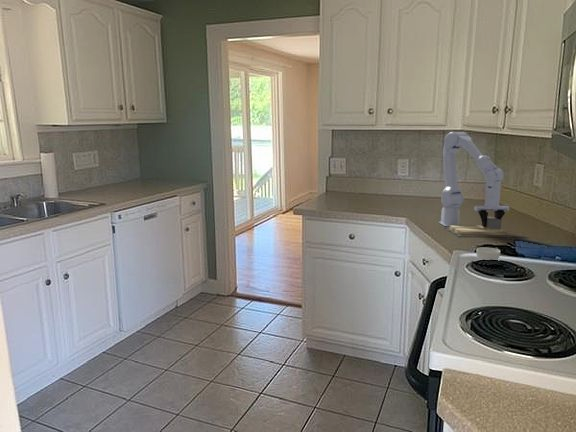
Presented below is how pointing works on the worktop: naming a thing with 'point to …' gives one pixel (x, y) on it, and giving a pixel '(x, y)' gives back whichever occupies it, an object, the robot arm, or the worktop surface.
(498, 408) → the worktop surface
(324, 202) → the worktop surface
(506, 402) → the worktop surface
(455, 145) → the robot arm
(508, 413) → the worktop surface
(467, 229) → the pine board
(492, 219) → the block
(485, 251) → the teacup
